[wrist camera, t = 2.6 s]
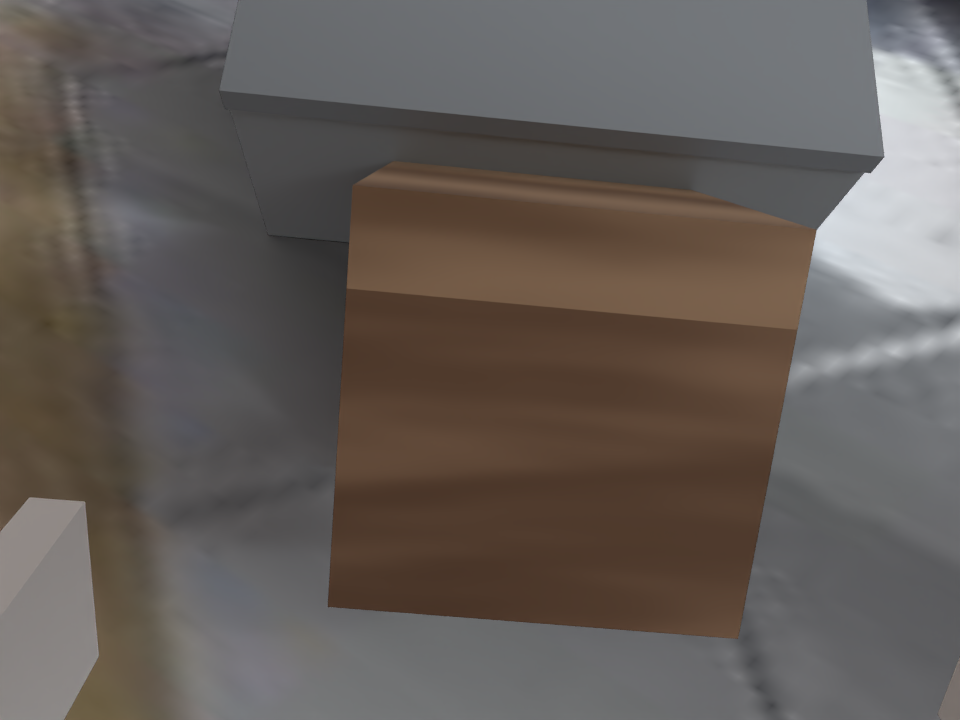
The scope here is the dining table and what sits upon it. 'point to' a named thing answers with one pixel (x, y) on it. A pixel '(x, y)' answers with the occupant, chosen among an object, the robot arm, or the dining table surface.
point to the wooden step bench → (558, 398)
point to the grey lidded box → (554, 98)
